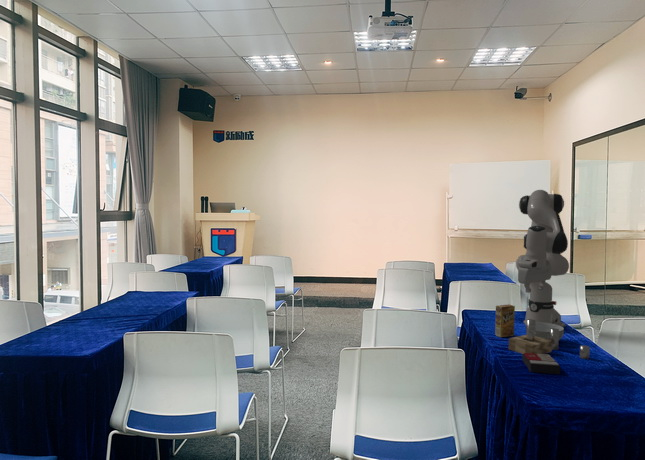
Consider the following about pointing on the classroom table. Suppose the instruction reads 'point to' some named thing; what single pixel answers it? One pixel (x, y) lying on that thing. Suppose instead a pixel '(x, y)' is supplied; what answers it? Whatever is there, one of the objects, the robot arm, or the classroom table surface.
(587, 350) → the short pin
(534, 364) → the calculator
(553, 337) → the medium pin
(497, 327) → the candy box
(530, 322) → the long pin
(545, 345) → the block
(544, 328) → the cereal bowl
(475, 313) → the classroom table surface
